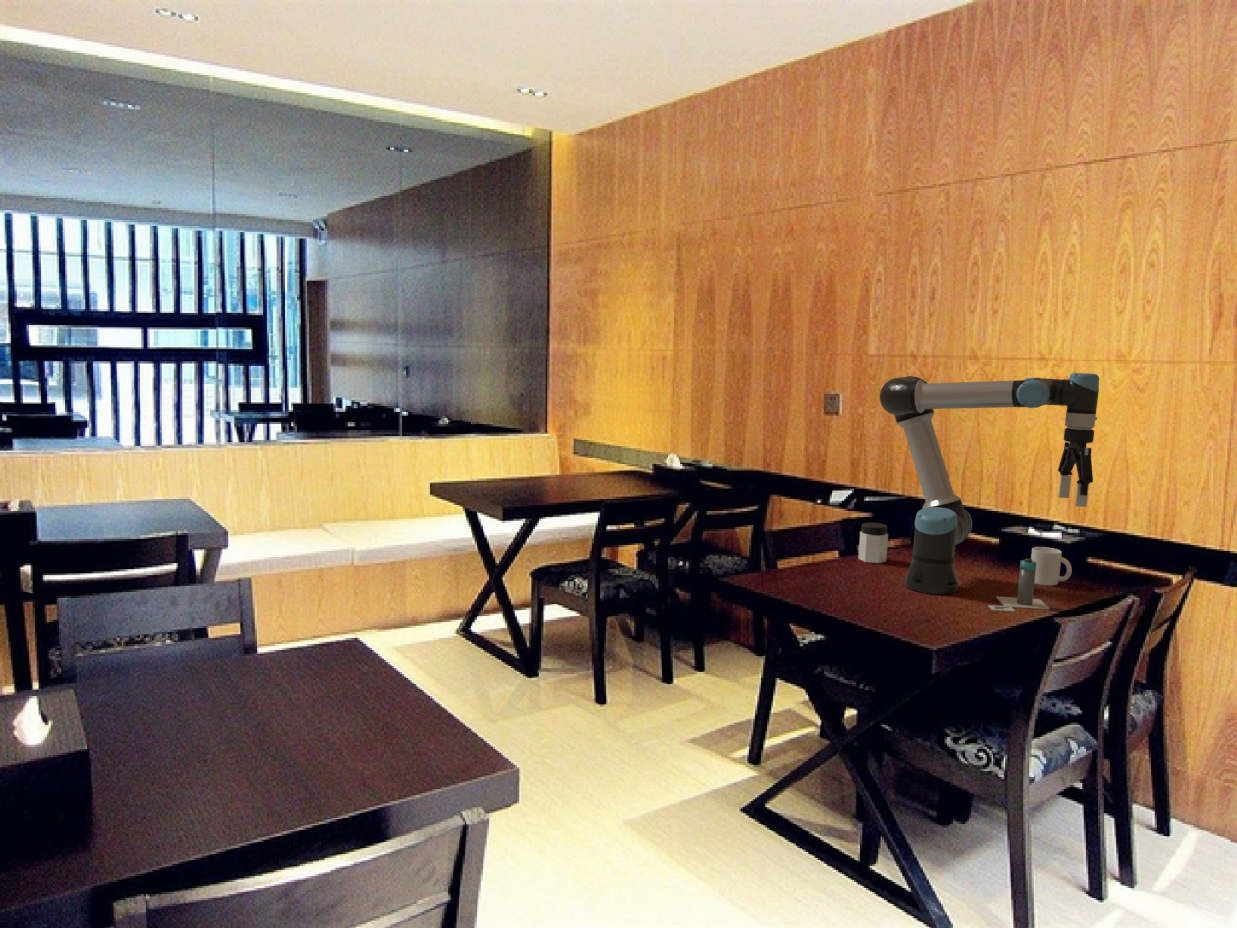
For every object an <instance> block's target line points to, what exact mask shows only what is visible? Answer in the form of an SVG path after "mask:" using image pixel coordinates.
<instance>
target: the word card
mask: <svg viewBox="0 0 1237 928" xmlns="http://www.w3.org/2000/svg"><path fill="white" fill-rule="evenodd" d="M988 607H989V609H991V611H995V612H1012V613H1016V610H1015V609H1014V607H1010V606H1004V605H994V604H993V605H992V604H988Z"/></svg>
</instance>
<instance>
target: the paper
mask: <svg viewBox="0 0 1237 928" xmlns="http://www.w3.org/2000/svg"><path fill="white" fill-rule="evenodd" d="M995 598H996V599H997V601H999V602H1000V604H1002V606H1010V607H1012V608H1018V609H1019V608H1021V609H1034V610H1035V609H1037V610H1050V609H1051V608H1050V607H1049V606H1048V605H1047V604H1045V602H1043V601H1042V600H1041V599H1039V598H1033V603H1032V605H1021V604H1018V603H1017V597H1012V596H1011V597H1010V596H996V597H995Z"/></svg>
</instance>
